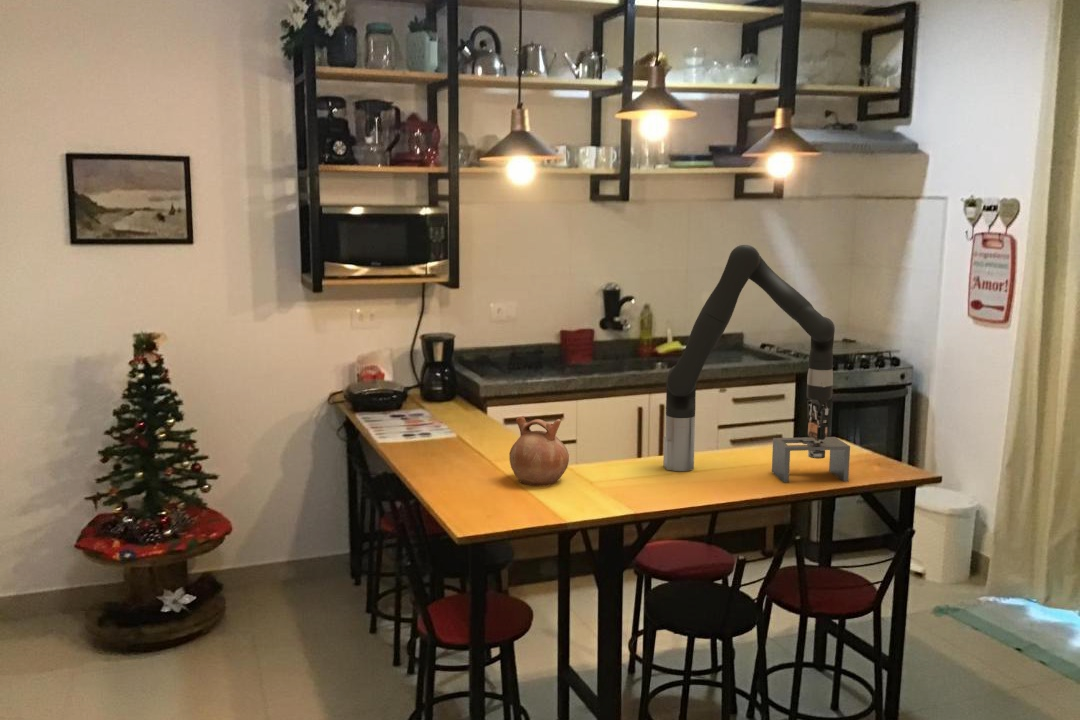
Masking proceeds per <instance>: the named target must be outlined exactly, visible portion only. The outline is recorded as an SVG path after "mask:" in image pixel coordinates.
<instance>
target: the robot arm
mask: <svg viewBox="0 0 1080 720" xmlns="http://www.w3.org/2000/svg"><path fill="white" fill-rule="evenodd" d="M749 280H750V281H752V282H753V283H754V284H756V285H757V286H758V287H759V288H760V289H762V290H763V292H765V293H766V294H767V295H768V296H769V298H770V299H771V300H772V301H773V302H774V303H775V304H776V305H777V306H778V307H779V308H780V309H781V310H782V311H783V312H785V313H786V314H787V315H788V316H789V317H790V318H791V319H792V320H794V321H795V322H796V323H797V324H799V327H800V328H802V330H804V331H805V333H806V334H807V335H809V337H810V351H809V355H808V371H807V377H806V378H807V379H806V381H807V382H806V398H807V399H808V400H807V401H806V403H807V420H808V421H809V422H812V421H817V426H818V427H817V439H818V440H824V439H825V428H826V427H827V428H829V426H830V421H831V420H830V419H831V412H832V410H831V408H828V404H827V401H829V400H831V399H832V398H833V387H834V373H833V370H834V369H833V367H834V365H833V364H834V354H833V353H834V352H833V351H834V350H833V349H834V342H835V341H834V340H835V332H836V331H835V330H836V329H835V324H834V322H833V321H832V320H831V319H830V318H828V317H826V316H823V315H822V314H821V313H820V312H819V311H818V310H817V309H815V308H814V306H813V305H812V303H811V302H810V301H809V300H808V299H806V297H804V296H803V295H802V294H801V293H800V292H799V291H797V290H796V289H795V288H794V287H793V286H791V285H790V284H789V283H788V282H786V281H785V280H784V279H783V278H781V277H780V276H779V275H778V273H776V272H775V271H774V270H773V269H772V268H771V267H770V266H769V265H768V263H766V261H765V260H764V259H763V257H762V255H760V253H759V251H758V250H757V248H755V247H753V246H751V245H749V244H739V245H738V246H736V247H734V248H733V249H732V250H731V252H730V253H729V255H728V259H727V262H726V264H725V267H724V269H723V272H722V275H721V277H720V278H719V281H718V283H716V286H715V288H714V289H713V290H712V292H711V293H710V294H709V297H708V298H707V300H706V301H705V303H704V304H703V307H702V308H701V310H700V312H699V314H698V316H697V318H696V319H695V321H694V324H693V327H692V329H691V332H690V334H689V337H688V340H687V343H686V345H685V349H684V350H683V353H682V354H681V356H680V358H679V359H678V360H677V362H676V364H675V365H673V366H672V367H671V368H670V369H669V370H668V372H667V375H666V388H665V389H666V396H665V397H666V398H665V399H666V400H665V436H664V437H663V467H664V469H666V471H674V472H689V471H692V470H694V469H695V441H696V440H695V439H696V437H695V436H696V431H695V429H696V398H697V397H696V396H697V395H696V394H697V393H696V392H697V389H696V388H697V383H698V379H699V378H700V374H701V372H702V370H703V368H704V365H705V364H706V362H707V359H708V358H709V357H710V355H711V353H712V352H713V350H714V349H715V348H716V345H717V344H718V342H719V341H720V339H721V337H723V334H724V332H725V330H726V328H727V326H728V325H729V322H730V321H731V319H732V316H733V313H734V311H735V308H736V306H737V303H738V300H739V297H740V295H741V292H742V291H743V288H744V287H745V285H746V284H747V282H748V281H749Z"/></svg>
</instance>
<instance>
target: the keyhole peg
mask: <svg viewBox="0 0 1080 720" xmlns="http://www.w3.org/2000/svg"><path fill="white" fill-rule="evenodd" d="M807 425H808V427H807V436H808V437H813V438H814V443H820V442H821V440H818V439H817V427H818V426H817V421H812V422H810V421H809V422H808V424H807ZM826 437H828V427H826V428H825V438H826ZM807 457H808V458H811V459H817V460H818V459H819V460H820V459H824V458H826V450H807Z"/></svg>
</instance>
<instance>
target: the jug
mask: <svg viewBox="0 0 1080 720" xmlns="http://www.w3.org/2000/svg"><path fill="white" fill-rule="evenodd" d="M515 420H516V424H517V426H518V429H519V431H520V432H519V433H520V436H519V437H518V438H517V440H516V441H514V443H513V444H512V446H511V448H510V451H509V456H508V457H509V464H510V468H511V470H512V472H513V473H514V475H515V477H516V478H517V480H518V481H519V482H520V484H523V485H526V486H533V487H544V486H545V487H547V486H551V485H554V483H555V484H556V483H558V481H559V480H560V479H561V477H563V476H564V474H565V473H566V470H567V469H568V466H569V461H570V454H569V451H568V449H567V447H566V446H565V444H564V443H563V442H562V441H561V439H559V437H558V436H557V433H558V430H559V428H560V425H561V422H562V421H561V419H559V418H558V419H556V420H554V422H553V423H552V422H546V421H545V420H543V419H540V418H537V419H533V420H530V421H529V422H527V420H526V418H525V416H524V415H521V416H519V417H517V418H516V419H515ZM534 425H535V426H536V425H537V426H540V427H542V428H544V429H545V430H546V431H545V430H532V429H531V426H534Z"/></svg>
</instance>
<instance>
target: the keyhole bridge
mask: <svg viewBox="0 0 1080 720" xmlns="http://www.w3.org/2000/svg"><path fill="white" fill-rule="evenodd" d="M791 444H792V445H791ZM808 450H825V451H829V464H828V465H829V468H828V471H829V472H830V473H832V474H833V475H834V476H835V477H837V478H838V479H839V480H841V481H842V482H849V477H850V476H849V475H850V459H851V458H850V454H851V446H850V445H848V444H847V443H846V442H845V441H843V440H841V439H839V438H838V437H836V436H827V437H826V438H825V439H824V440H821V442H820V443H814V438H813V437H809V436H808V437H806V436H805V437H773V438H772V452H771V453H772V454H771V455H772V458H771V459H772V461H771V473H772V474H773V475H774V476H775V477H777V478H778V479H779V480H780V481H781V482H782V483H784V484H789V483H790V468H791V467H790V461H791V452H793V451H799V452H800V451H808Z"/></svg>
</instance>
